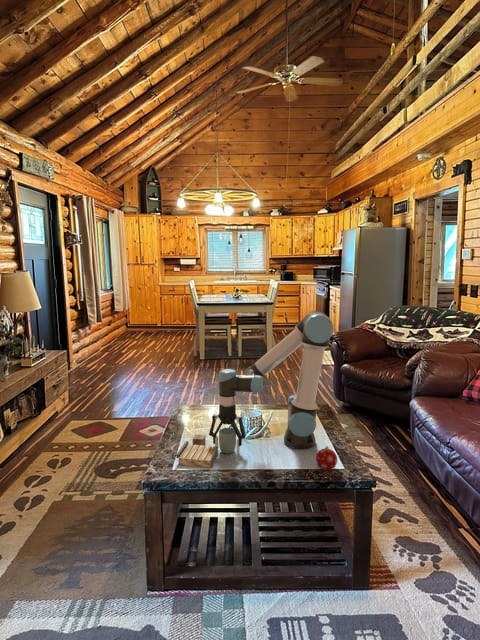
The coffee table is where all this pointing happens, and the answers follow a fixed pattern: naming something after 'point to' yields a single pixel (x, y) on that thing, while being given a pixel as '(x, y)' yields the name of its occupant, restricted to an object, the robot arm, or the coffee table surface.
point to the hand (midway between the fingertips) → (227, 451)
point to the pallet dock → (197, 455)
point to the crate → (199, 440)
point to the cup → (227, 440)
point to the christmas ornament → (326, 459)
